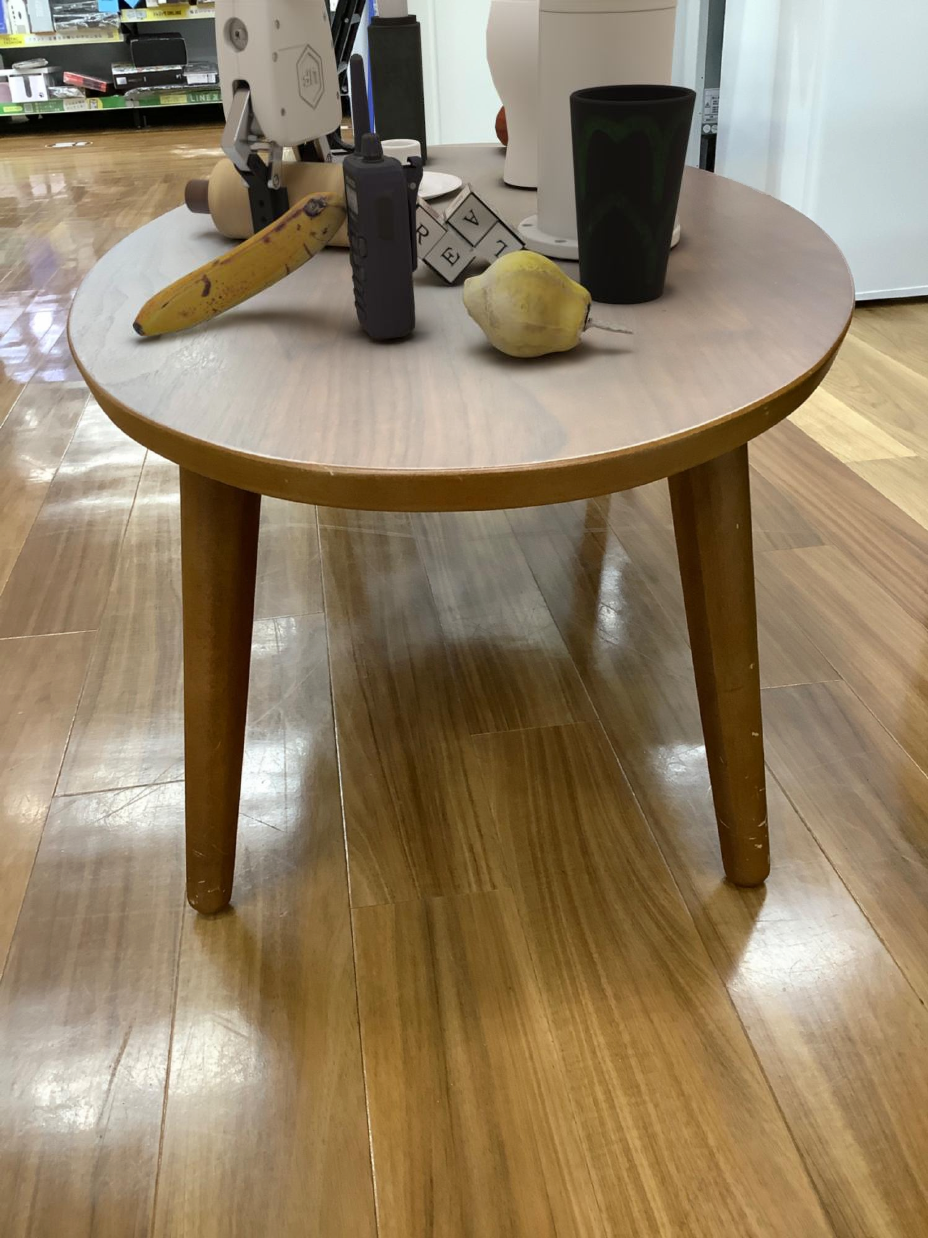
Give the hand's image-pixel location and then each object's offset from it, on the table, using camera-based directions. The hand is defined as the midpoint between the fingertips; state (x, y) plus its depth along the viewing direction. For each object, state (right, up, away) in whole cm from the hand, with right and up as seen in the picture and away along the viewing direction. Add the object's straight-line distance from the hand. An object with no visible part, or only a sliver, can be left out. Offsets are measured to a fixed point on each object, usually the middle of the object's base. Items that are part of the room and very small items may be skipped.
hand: (296, 227), depth 81 cm
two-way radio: (+9, -14, -18) cm, 24 cm away
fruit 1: (-1, -9, -20) cm, 22 cm away
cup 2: (+21, +11, +16) cm, 29 cm away
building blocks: (+13, -7, -8) cm, 17 cm away
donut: (+24, +24, +26) cm, 43 cm away
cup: (+24, -9, -13) cm, 29 cm away
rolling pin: (0, -1, +1) cm, 1 cm away
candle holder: (+7, +9, +14) cm, 18 cm away
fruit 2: (+18, -16, -22) cm, 33 cm away
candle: (+7, +17, +26) cm, 32 cm away
